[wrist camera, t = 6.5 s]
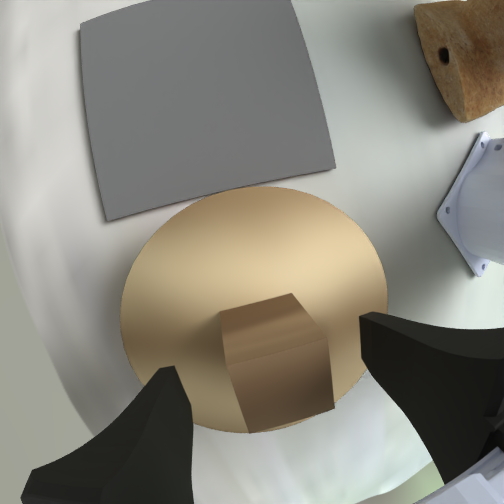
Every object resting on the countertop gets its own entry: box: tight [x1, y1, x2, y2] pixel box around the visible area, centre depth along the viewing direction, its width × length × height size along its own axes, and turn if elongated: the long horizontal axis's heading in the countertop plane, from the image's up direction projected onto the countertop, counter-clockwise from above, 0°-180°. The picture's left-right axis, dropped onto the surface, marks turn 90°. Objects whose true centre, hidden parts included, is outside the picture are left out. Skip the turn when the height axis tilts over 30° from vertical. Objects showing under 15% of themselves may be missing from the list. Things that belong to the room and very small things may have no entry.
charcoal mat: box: [80, 0, 336, 221], centre depth 14 cm, size 13×13×1 cm
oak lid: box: [120, 187, 388, 434], centre depth 11 cm, size 12×12×5 cm
